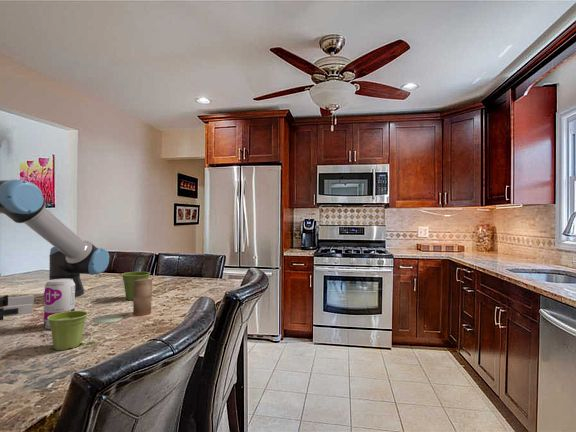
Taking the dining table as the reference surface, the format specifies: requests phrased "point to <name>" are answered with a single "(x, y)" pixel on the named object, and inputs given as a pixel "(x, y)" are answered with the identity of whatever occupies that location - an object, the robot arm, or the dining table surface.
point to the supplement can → (58, 298)
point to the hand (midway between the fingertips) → (33, 303)
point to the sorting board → (116, 317)
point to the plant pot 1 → (67, 328)
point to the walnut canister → (142, 297)
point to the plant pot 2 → (132, 282)
